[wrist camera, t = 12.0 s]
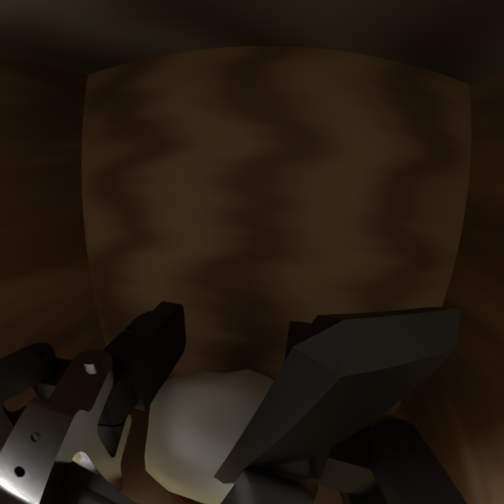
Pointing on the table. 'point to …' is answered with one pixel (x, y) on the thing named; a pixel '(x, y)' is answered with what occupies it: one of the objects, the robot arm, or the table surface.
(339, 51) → the under counter cubby
